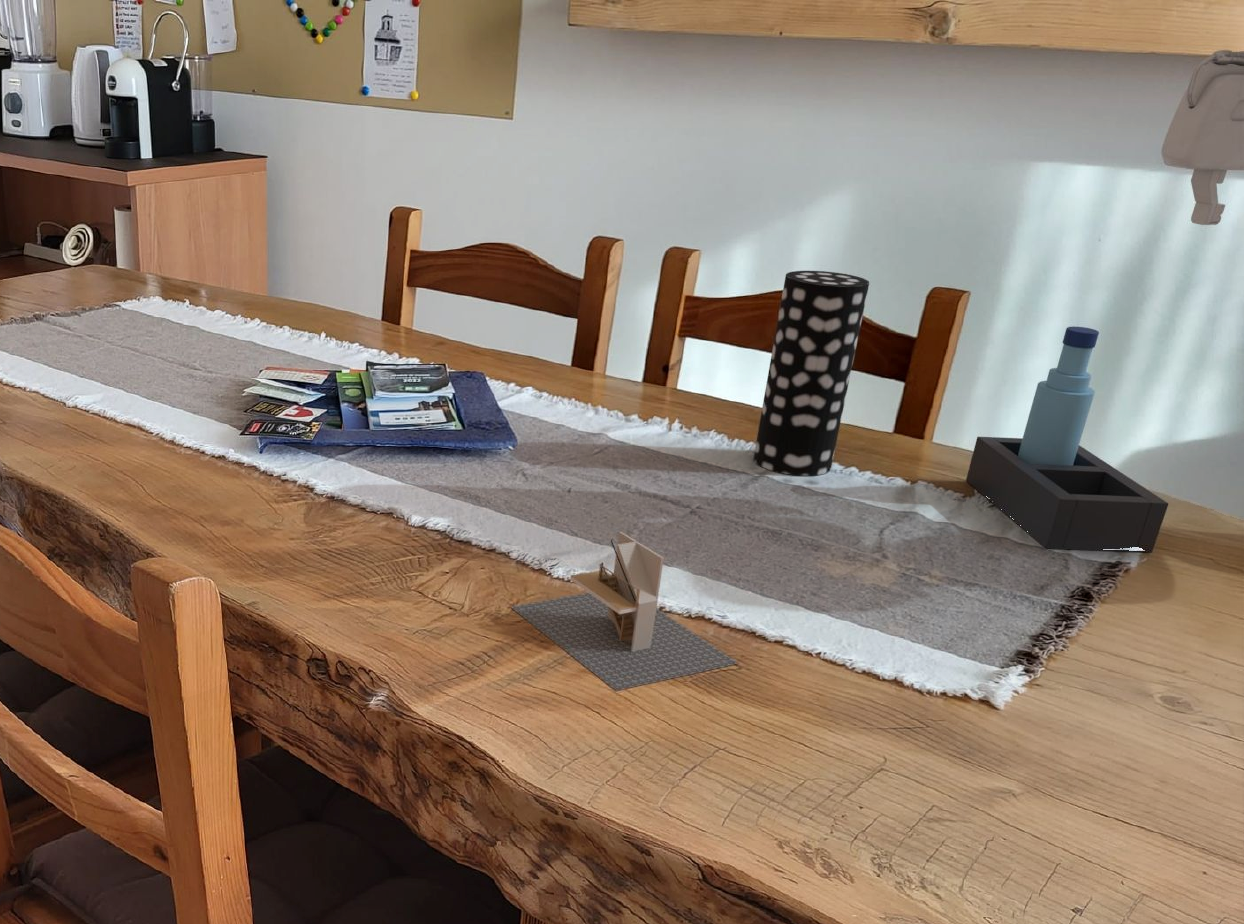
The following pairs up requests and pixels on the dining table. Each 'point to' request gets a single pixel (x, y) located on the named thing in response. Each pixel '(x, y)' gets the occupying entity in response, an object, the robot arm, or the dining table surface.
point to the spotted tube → (809, 371)
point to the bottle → (1061, 404)
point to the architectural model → (623, 624)
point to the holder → (1067, 499)
